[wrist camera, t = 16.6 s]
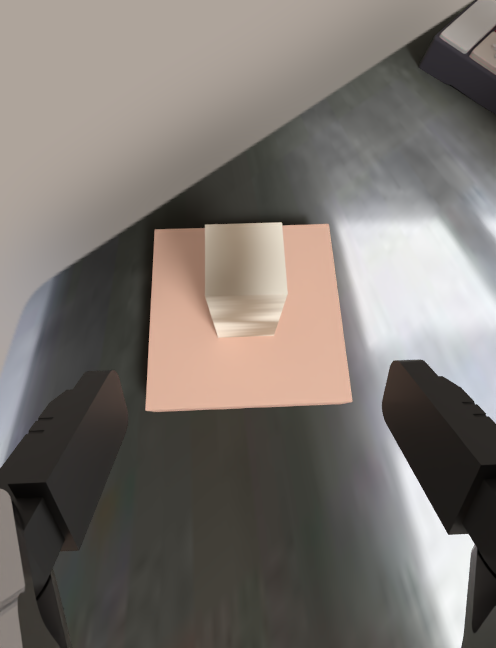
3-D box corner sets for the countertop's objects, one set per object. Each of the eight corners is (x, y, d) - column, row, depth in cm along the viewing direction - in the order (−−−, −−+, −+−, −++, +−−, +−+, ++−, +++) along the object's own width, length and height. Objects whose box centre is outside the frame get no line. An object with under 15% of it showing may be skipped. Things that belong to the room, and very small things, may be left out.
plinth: (321, 241, 32) (328, 223, 30) (341, 403, 28) (352, 401, 25) (162, 246, 32) (154, 229, 29) (156, 411, 27) (145, 410, 25)
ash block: (270, 284, 28) (281, 222, 19) (274, 335, 26) (287, 293, 18) (217, 286, 28) (205, 224, 19) (218, 337, 26) (205, 296, 18)
